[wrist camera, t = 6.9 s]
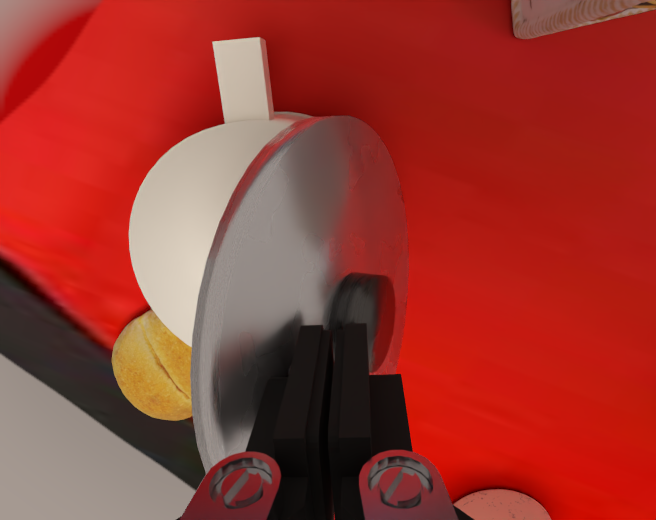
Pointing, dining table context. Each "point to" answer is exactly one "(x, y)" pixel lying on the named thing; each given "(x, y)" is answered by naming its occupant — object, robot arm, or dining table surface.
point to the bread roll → (154, 368)
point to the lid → (297, 270)
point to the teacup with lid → (501, 506)
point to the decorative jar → (569, 14)
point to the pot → (201, 186)
